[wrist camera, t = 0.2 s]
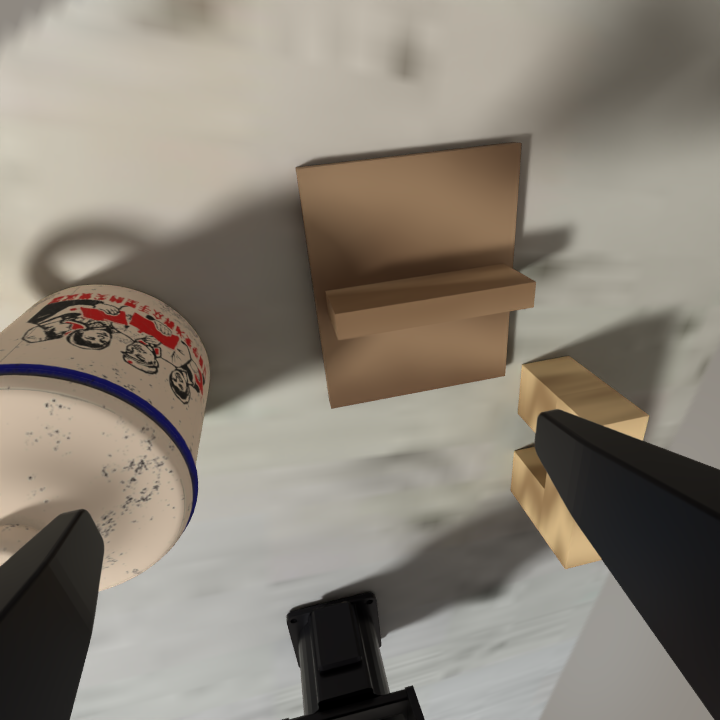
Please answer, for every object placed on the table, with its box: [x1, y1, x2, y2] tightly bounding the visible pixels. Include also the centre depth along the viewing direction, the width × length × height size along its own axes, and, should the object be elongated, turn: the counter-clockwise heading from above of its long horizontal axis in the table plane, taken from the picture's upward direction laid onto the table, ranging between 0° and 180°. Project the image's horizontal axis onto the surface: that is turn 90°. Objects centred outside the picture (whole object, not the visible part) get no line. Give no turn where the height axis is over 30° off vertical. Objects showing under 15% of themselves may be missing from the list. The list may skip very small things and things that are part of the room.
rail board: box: [296, 142, 536, 409], centre depth 21 cm, size 12×10×4 cm
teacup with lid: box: [0, 285, 210, 591], centre depth 16 cm, size 12×9×12 cm
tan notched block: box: [511, 356, 649, 569], centre depth 27 cm, size 10×3×6 cm, turn 5°
